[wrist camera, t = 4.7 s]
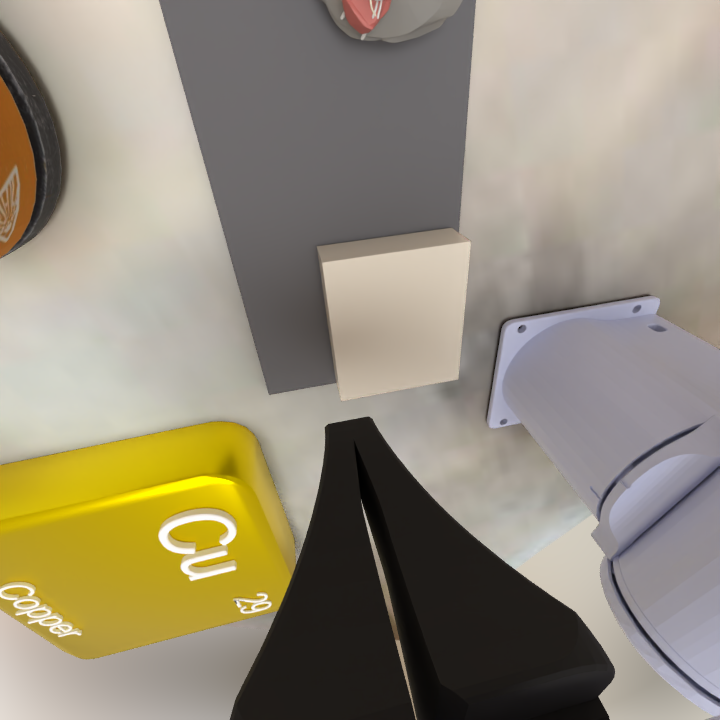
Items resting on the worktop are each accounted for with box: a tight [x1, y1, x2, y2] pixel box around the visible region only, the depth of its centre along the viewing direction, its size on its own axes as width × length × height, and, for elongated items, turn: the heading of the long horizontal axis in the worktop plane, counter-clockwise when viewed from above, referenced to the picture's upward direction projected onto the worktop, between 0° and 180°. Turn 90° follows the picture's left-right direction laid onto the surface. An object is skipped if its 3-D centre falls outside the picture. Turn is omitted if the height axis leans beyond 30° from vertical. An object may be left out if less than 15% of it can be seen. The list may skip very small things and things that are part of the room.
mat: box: [159, 0, 476, 395], centre depth 15 cm, size 10×19×1 cm, turn 4°
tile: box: [317, 228, 471, 401], centre depth 18 cm, size 2×7×6 cm
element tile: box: [0, 421, 296, 659], centre depth 23 cm, size 15×15×5 cm
